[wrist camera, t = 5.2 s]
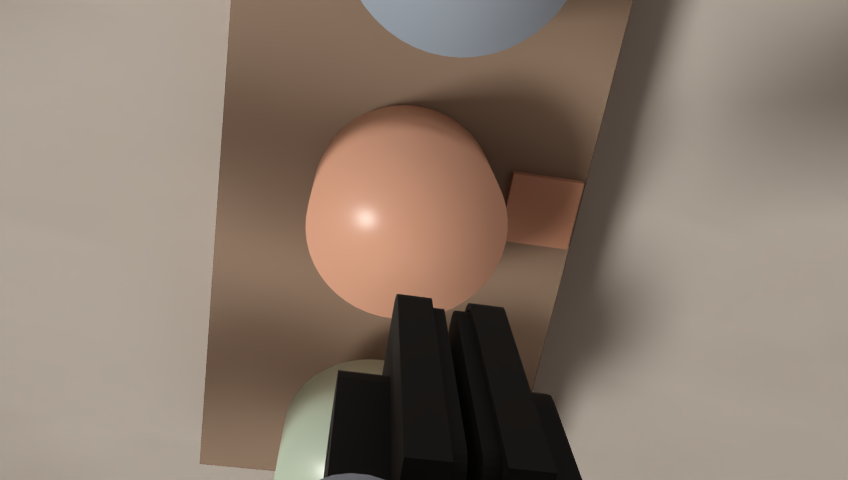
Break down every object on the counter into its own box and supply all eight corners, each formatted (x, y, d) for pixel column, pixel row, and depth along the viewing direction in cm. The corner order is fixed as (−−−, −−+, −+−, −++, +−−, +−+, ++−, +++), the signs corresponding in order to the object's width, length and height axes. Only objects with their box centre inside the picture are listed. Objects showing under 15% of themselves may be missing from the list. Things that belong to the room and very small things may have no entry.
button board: (496, 449, 25) (506, 497, 23) (213, 421, 24) (198, 468, 22) (648, -169, 18) (682, -180, 16) (262, -246, 17) (247, -269, 15)
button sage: (437, 505, 21) (444, 574, 19) (276, 490, 21) (264, 559, 18) (466, 369, 19) (478, 427, 17) (292, 350, 19) (281, 407, 17)
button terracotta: (473, 284, 20) (486, 329, 18) (304, 262, 19) (295, 307, 17) (508, 119, 18) (527, 147, 16) (325, 91, 18) (317, 117, 16)
